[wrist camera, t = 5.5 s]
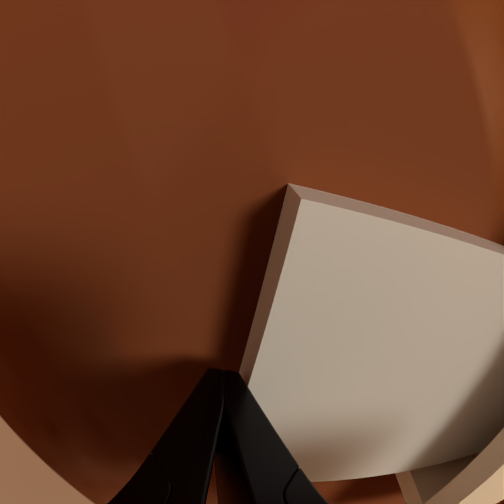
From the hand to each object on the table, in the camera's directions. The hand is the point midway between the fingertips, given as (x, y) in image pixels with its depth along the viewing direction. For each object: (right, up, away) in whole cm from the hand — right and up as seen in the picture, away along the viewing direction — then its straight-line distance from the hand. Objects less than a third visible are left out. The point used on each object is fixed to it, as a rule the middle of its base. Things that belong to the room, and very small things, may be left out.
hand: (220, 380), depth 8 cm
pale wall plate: (+7, -1, +2) cm, 8 cm away
